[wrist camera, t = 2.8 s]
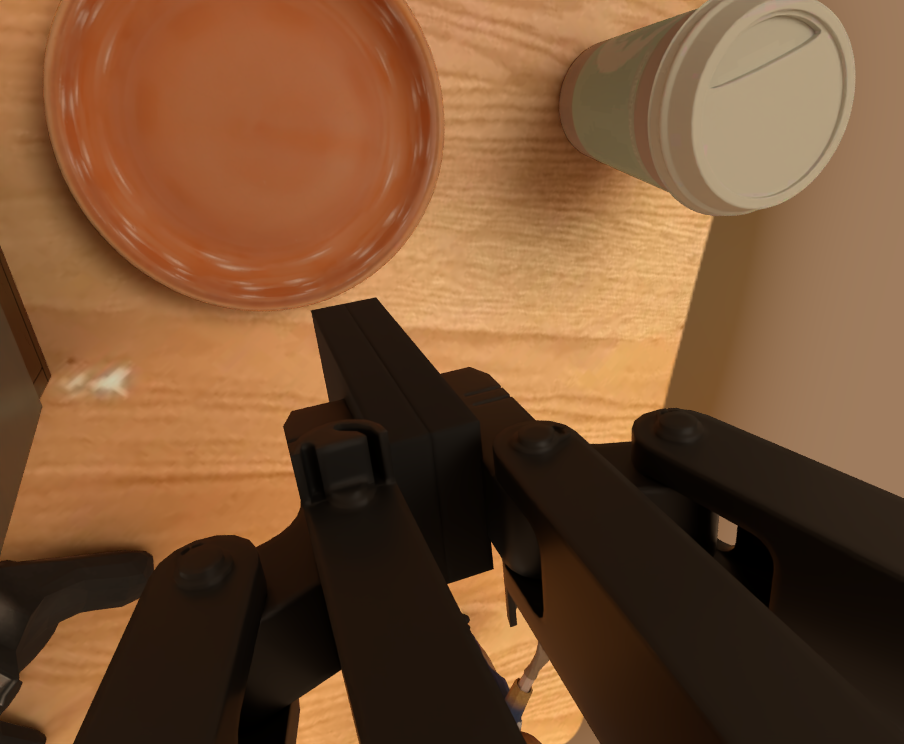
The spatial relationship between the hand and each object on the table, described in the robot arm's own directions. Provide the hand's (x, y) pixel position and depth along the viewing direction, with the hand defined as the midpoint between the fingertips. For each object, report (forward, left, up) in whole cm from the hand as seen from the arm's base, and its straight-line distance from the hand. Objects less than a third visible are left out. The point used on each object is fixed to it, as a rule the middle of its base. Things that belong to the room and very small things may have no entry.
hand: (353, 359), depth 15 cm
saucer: (-4, 0, -19) cm, 20 cm away
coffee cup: (-3, +18, -19) cm, 27 cm away
